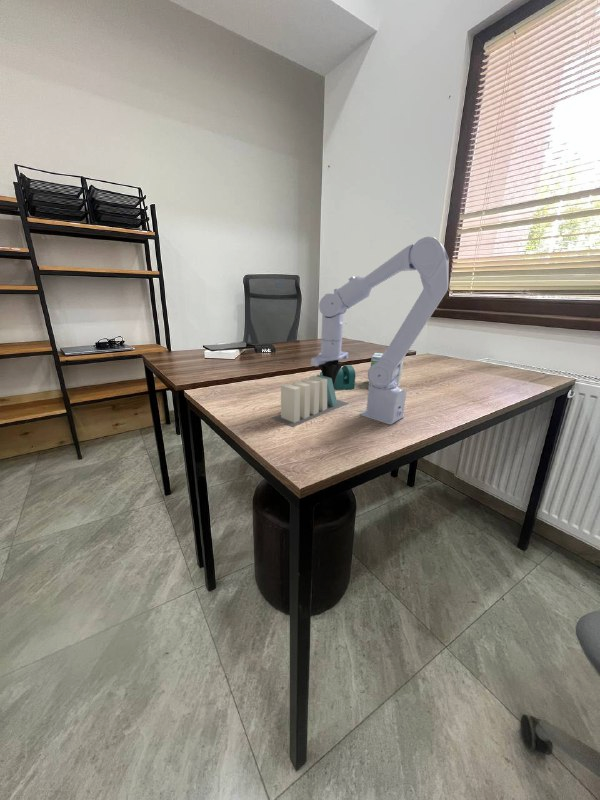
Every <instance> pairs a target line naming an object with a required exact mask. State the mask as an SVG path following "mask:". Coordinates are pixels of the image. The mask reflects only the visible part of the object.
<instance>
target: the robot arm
mask: <svg viewBox="0 0 600 800" xmlns="http://www.w3.org/2000/svg"><path fill="white" fill-rule="evenodd" d="M449 263H450V258H449V256H448V253H447V251H446V248H445V246H444V245H443V244H442V243H441V242H440V240H439V239H438V238H436V237H434V236H425V237H421V238H420V239H418V240H417V241H416V242H415V243H414V244H413V243H412V244H409V245H408V246H406V247H405V248H403V249H401V250H400V251H399V252H397V253H396V254H395V255H393V256H392V257H390V258H389V259H388V260H386V261H385V262H383V264H381V265H380V266H378V267H377V268H375V269H374V270H372V271H371V272H370V273H369V274H367V275H365V276H360V275H357V276H351V277H350V278H348V282H346V283H344V285H342V286H341V287H339V288H338V287H336V288H335V289H333V293H326V294H324V296H323V297H321V298H320V301H319V303H318V309H319V311H320V314H321V316H322V319H321V336H320V337H321V338H320V339H321V342H320V352H319V353H318V355H317V356H315V357H311V358H310V365H311V366H313V367H319V369H320V372H322V374H323V376H325V377H329V378H331V379H332V383H333V385H334V382H335V379H336V376H337V374H338V372H339V370H340V368H342V367H343V362H342V361H341V360H347V359H349V352H348V351H342V345H343V328H344V327H343V325H344V314H345V313H346V312H347V310H350V309H351V308H352V307H353V306H355V305H356V304H358V303H360V302H362V301H364V300H365V299H367V298H369V297H370V294H371V292H372V289H373V288H375V287H377V286H378V285H380V284H382V283H383V282H386V281H387V280H388V279H390V278H392V277H394V276H395V275H398V273H401V272H405V271H406V272H408V271H417V273H418V274H419V278H420V281H421V283H422V287H423V289H422V290H421V293H420V294H419V296H418V297H417V299H416V301H415V302H414V303H413V306H412V307H411V309H410V310H409V312H408V314H407V316H406V317H405V319H404V321H403V322H402V324H401V325H400V327H399V328H398V330H397V332H396V334H395V335H394V337H393V339H391V340H392V341H391V342H390V343H389V345H388V346H387V348H386V349H385V351H384V352H383V353H382V354H383V355H382V356H381V358H380V359H379V361H378V362H377V363H375V364H374V365H372V366H371V365H370V367H369V368H368V371H367V379H368V391H367V403H366V410H364V411H362V412H360V413H359V415H360V416H363V417H365V418H369V419H371V420H374V421H378V422H380V423H384V424H387V425H390V426H391V425H393V424H394V423H395V422H397V421H399V420H401V419H403V418H404V417H405V415H404V412H405V405H406V396H407V394H406V390H405V389H402V388H400V387H397V383H396V380H395V377H397V375H398V374H399V372H400V365H401V363H402V361H403V362H404V359H405V357H406V355H407V354H408V353H409V351H410V349H411V348H412V346H413V344H414V343H415V341H416V339H417V338H418V336H419V335H420V334H421V332H422V330H423V329H424V327H425V326H426V324H427V323H428V322H429V320H430V318H431V317H432V316H433V314H434V312H435V311H436V309H437V308H438V306H439V304H440V302H441V301H442V300H443V298H444V297H445V295H446V294H447V292H448V289H449V277H450V276H449V273H450V272H449V271H450V269H449V265H450V264H449Z"/></svg>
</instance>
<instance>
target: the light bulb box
mask: <svg viewBox="0 0 600 800" xmlns="http://www.w3.org/2000/svg"><path fill="white" fill-rule="evenodd" d="M383 354H384V353H382V352H381V353H380V352H374V353H373V355H372V356H371V360H370V367H371V366H372V365H374V364H375V363H377V362H378V361H379V359H380V358H381V356H382V355H383ZM403 365H404V360H403V361H402V363H401V365H400V372H399V374H398V375H397V377H395V380H396V383H397V387H398V388H400V385H401V380H402V371H403Z"/></svg>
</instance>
